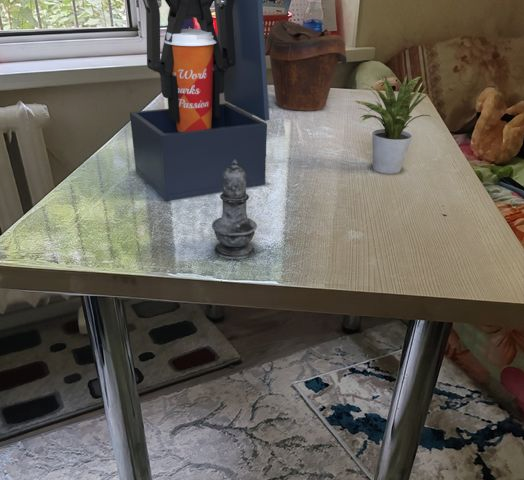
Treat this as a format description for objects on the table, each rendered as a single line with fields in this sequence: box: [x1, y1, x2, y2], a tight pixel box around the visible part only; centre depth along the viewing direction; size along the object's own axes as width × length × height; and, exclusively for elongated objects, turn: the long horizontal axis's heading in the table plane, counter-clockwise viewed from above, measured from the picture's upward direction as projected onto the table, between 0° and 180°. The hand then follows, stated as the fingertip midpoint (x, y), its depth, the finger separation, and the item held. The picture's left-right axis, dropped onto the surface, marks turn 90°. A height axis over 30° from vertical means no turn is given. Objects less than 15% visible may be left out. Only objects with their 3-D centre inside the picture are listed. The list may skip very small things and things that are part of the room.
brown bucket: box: [265, 19, 348, 112], centre depth 134 cm, size 18×20×18 cm
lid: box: [213, 0, 276, 122], centre depth 87 cm, size 19×15×6 cm
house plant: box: [354, 73, 433, 175], centre depth 98 cm, size 14×14×16 cm
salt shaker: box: [211, 159, 258, 260], centre depth 69 cm, size 6×6×12 cm
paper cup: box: [163, 28, 216, 132], centre depth 85 cm, size 8×8×14 cm
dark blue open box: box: [129, 103, 268, 202], centre depth 92 cm, size 18×15×10 cm
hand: (194, 117), depth 88 cm, fingers closed on paper cup, 6 cm apart
